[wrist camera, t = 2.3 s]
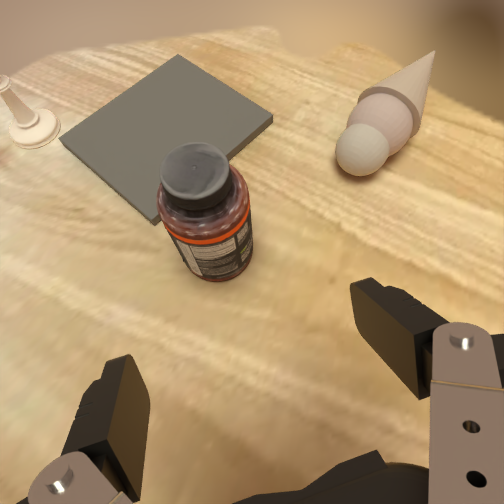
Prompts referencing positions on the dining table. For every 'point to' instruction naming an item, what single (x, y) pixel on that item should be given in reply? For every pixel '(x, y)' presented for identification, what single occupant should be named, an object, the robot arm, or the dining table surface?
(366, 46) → the dining table surface
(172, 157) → the supplement bottle
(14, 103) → the chess piece
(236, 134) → the mat
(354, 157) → the ice cream cone
